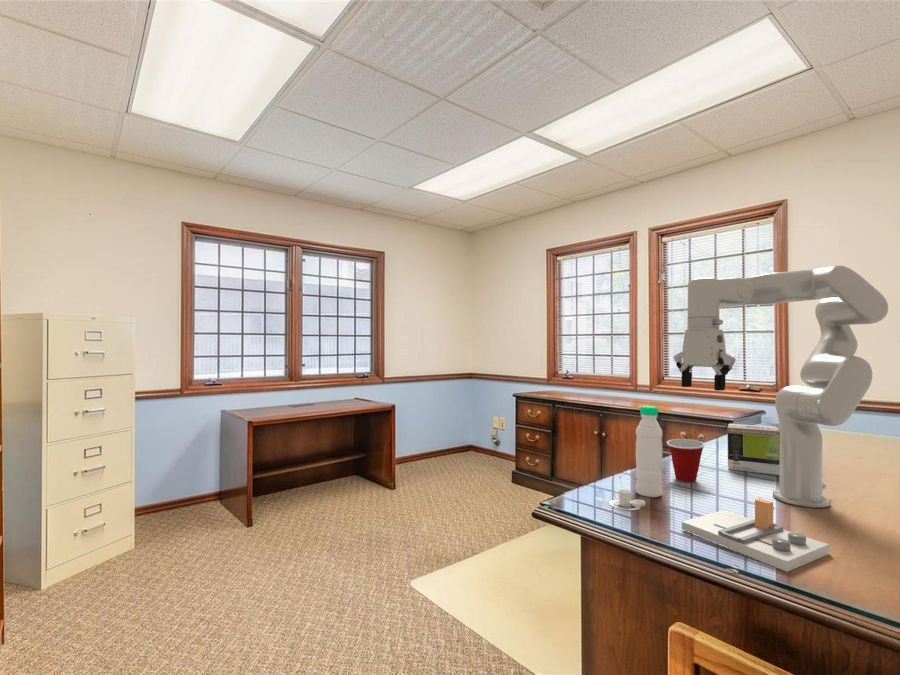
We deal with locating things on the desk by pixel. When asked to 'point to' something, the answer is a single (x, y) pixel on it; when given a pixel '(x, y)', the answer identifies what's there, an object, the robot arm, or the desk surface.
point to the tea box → (753, 448)
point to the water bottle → (649, 454)
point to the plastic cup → (685, 458)
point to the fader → (763, 513)
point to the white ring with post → (627, 500)
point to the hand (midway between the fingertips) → (702, 388)
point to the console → (757, 540)
